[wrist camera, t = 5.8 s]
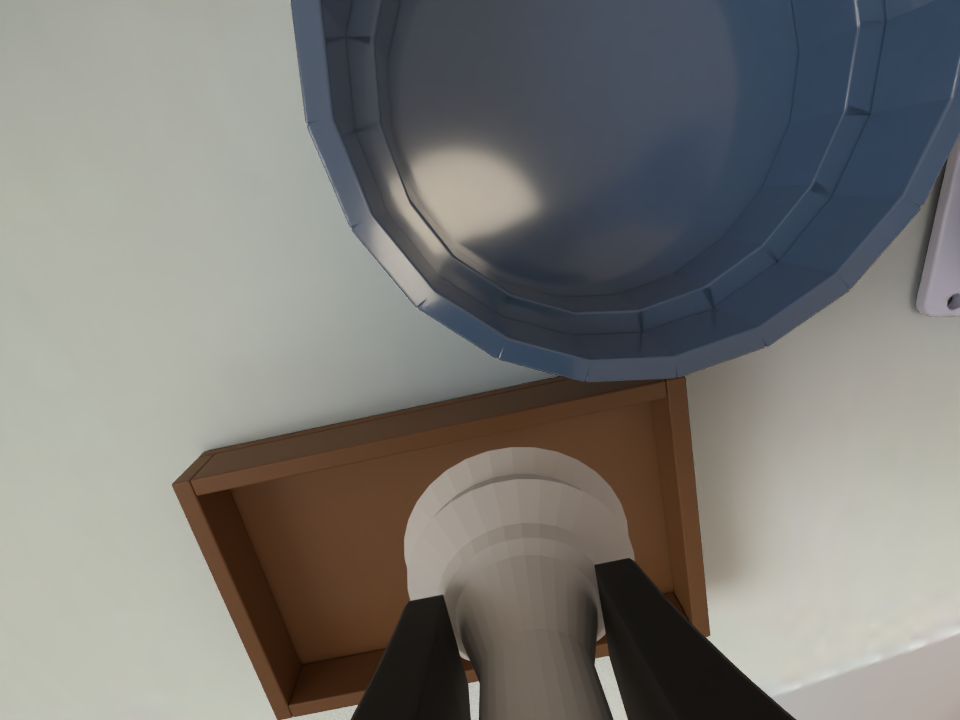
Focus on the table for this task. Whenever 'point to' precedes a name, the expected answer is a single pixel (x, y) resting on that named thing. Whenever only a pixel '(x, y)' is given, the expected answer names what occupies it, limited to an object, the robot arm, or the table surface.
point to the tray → (389, 503)
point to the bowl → (628, 162)
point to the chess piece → (521, 576)
